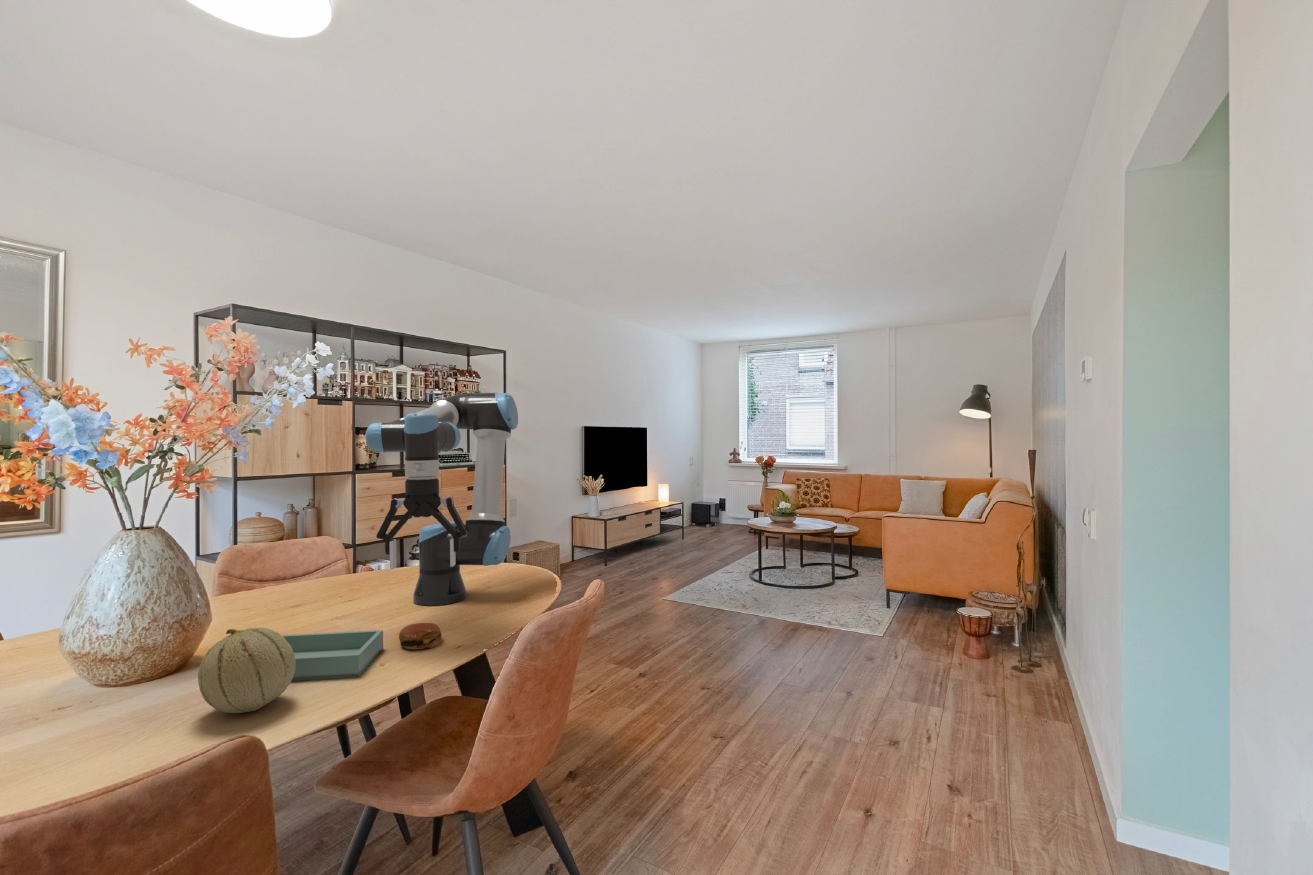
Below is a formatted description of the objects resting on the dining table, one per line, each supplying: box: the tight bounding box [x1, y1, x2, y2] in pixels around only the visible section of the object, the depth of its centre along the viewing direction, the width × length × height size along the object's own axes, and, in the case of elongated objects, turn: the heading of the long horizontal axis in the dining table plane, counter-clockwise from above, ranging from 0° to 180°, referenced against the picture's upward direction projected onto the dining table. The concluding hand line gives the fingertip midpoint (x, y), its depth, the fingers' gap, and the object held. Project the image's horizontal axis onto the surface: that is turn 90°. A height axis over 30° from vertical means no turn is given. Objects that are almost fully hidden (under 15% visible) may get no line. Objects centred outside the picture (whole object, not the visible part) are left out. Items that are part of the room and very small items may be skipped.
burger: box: [398, 622, 443, 650], centre depth 141 cm, size 10×9×5 cm
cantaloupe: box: [197, 627, 296, 714], centre depth 108 cm, size 15×15×15 cm
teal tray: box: [281, 629, 384, 682], centre depth 128 cm, size 16×24×4 cm, turn 98°
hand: (423, 566), depth 141 cm, fingers open, 13 cm apart
